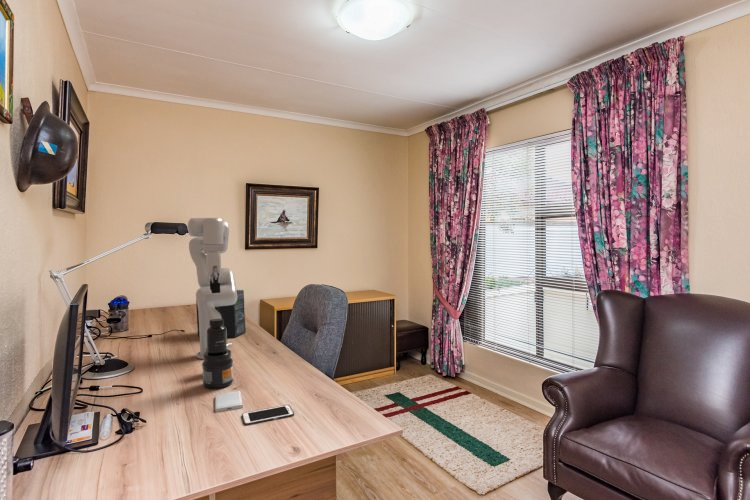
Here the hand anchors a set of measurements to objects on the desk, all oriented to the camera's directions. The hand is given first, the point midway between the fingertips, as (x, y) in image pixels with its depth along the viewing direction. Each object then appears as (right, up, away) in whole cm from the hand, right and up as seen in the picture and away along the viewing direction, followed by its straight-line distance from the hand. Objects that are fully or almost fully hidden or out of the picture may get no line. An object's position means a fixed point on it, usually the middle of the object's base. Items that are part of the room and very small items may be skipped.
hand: (215, 291), depth 164 cm
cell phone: (+32, -34, -40) cm, 61 cm away
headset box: (-20, -30, +61) cm, 71 cm away
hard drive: (+16, -34, -30) cm, 48 cm away
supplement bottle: (+6, -21, -14) cm, 26 cm away
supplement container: (+6, -33, -13) cm, 36 cm away
